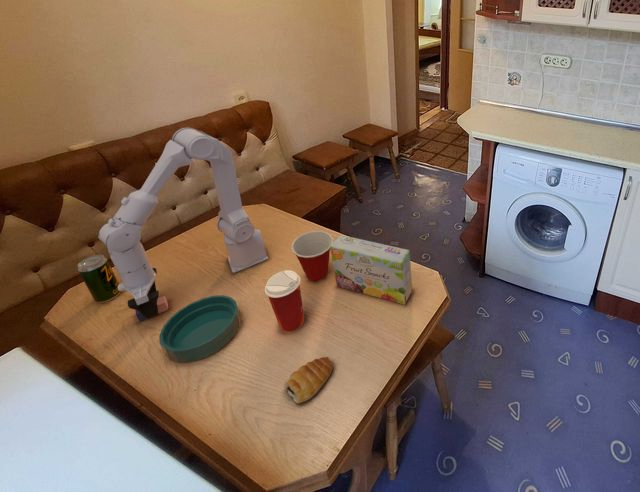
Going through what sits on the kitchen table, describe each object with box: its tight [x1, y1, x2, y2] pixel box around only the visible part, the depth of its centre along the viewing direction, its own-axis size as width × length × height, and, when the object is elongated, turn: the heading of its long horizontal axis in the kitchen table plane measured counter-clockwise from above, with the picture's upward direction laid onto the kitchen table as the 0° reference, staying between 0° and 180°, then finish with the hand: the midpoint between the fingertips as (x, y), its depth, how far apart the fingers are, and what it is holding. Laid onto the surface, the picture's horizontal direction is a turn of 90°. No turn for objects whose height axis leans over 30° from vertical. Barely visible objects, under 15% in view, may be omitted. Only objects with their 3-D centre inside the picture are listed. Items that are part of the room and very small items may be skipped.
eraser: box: [134, 295, 169, 323], centre depth 91 cm, size 6×3×3 cm, turn 131°
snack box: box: [330, 234, 413, 305], centre depth 97 cm, size 21×6×15 cm, turn 74°
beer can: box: [77, 254, 122, 304], centre depth 94 cm, size 5×5×12 cm
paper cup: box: [264, 269, 305, 333], centre depth 87 cm, size 8×8×14 cm
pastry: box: [284, 356, 334, 404], centre depth 76 cm, size 9×7×4 cm
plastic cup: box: [290, 230, 334, 283], centre depth 102 cm, size 11×11×12 cm
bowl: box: [158, 294, 242, 364], centre depth 85 cm, size 15×15×4 cm
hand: (152, 306), depth 91 cm, fingers open, 7 cm apart
